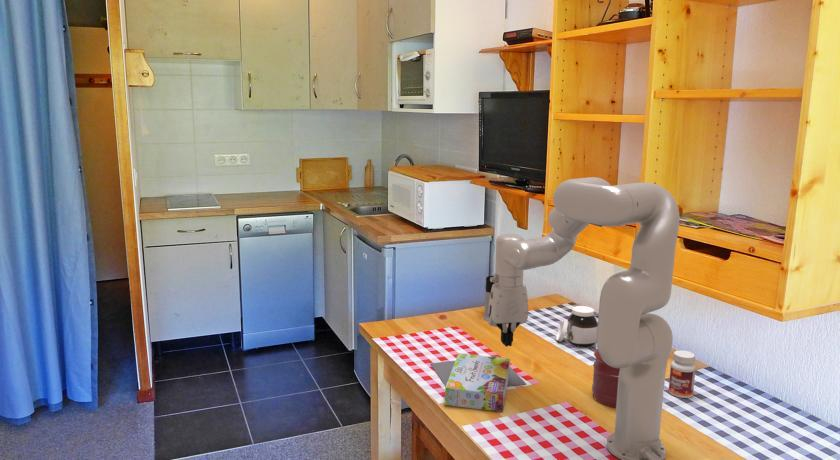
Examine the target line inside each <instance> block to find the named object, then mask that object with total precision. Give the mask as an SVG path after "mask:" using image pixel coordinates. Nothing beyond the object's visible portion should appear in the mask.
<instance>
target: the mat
mask: <svg viewBox="0 0 840 460" xmlns="http://www.w3.org/2000/svg"><path fill="white" fill-rule="evenodd" d="M495 357H498V358H502V357H501V356H500V355H499V356H498V355H497V356H495ZM455 361H456V360H450V361H438V362H437V361H436V362H431V363H429V364H430V366H431V368H432V369H433V371H435V373H436V374H437V376H438V378H439V379H440V380H441V382H442V384H443V386H445V387H446V385H447V382H448V379H449V377H450V374H451V371H452V369H453V366H454V363H455ZM519 386H527V382H526V381H524V379H523V378H522V377H521V376H520V375H519V374H518V373H516V371H515V370H514V369H513V368H512V367H511V366H510V373H509V380H508V385H507V388H511V387H519Z"/></svg>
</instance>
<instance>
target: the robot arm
mask: <svg viewBox="0 0 840 460" xmlns="http://www.w3.org/2000/svg"><path fill="white" fill-rule="evenodd" d="M552 204H553V209H551V210H550V212H549V213H548V217H547V218H548V219H547V220H548V225H549V226H550V228H551V231H550V232H549V233H547V234H546V235H545V236H541V237H535V238H528V239H524V237H523V236H522V235H519V234H515V233H503V234H499V235H498V236H497V237H496V238H495V239H496V240H495V261H494V262H495V265H494V267H495V268H494V274H493V276H494V277H490V282H494V283H495V284H493V285H492V289H491V294H490V300H489V322H488V321H487V322H488V325H489V326H490V327H495V328H498V329H499V330H500V342H501V343H502V344H503V346H505V347H512V346H513V342H514V332H515V331H516V329H517V328H518V327H519V326H521V325H523V324H525V323H527V320H528V318H529V299H528V290H527V285H526V284H525V283H524V271H527V270H533V269H536V268H540V267H544V266H545V267H546V266H547V267H548V266H551V265H554V264H555V263H557V262H558V261H560V260H561V259H562V258H564V257H565V256H566V255H567V254H568V253H570V252H571V251H572V249H574V247H575V246H576V242H577V240H578V235H580V234H581V232H583V231H584V230H585V229H586V228H587V227H589V225H590V224H591V225H597V226H602V227H608V228H609V227H611V228H612V227H614V228H615V227H622V226H626V225H627V226H628V225H632V224H633V225H634V224H640V227H639V230H638V231H637V233H636V235H635V237H634V239H633V243H632V248H631V259H630V264H629V268H628V269H627V270H624V271H620V272H617V273H614V274H613V275H611V276H610V277H608V278H607V279H606V280H605V282H604V284H603V286H602V289H601V290H600V296H599V305H598V306H599V307H598V314H597V315H598V317H597V324H598V327H597V341H596V346H597V347H596V348H597V349H598V351H599V354H600V356H601V358H602V359H603V360H604V362H605V363H606V364H608V365H609V366H611V367H614V368H620V370H619V378H618V390H617V404H616V407H615V418H614V419H615V420H614V421H615V422H614V432H613V433H612V434H610V435H609V436H608V437H607V438H606V449H607V450H608V451H609V452H610V454H612V455H613V456H614V457H616V458H617V459H619V460H665V459H666V458H667V450H666V447H665V445H664V444H663V443H662V440H661V439H660V438H661V437H660V435H661V426H662V425H661V424H662V413H663V412H662V411H663V401H664V391H665V390H664V389H665V380H666V372H667V371H666V370H667V367H668V366H667V365H668V363H669V358H670V355H671V351H672V348H673V342H674V341H673V331H672V329H671V326H670V324H669V323H668V322H667V320H666V319H664V317H662V316H660V315H658V314H654V313H652V312H655V311H657V310H661V309H662V308H664V307H665V306H666V305H668V303H669V301H670V299H671V294H672V288H673V287H672V286H673V277H674V266H675V256H676V254H675V253H676V246H677V240H678V235H679V229H680V217H681V216H680V210H679V206H678V204H677V201H676V200H675V198H674V197H673V194H671V193H670V192H669V190H667V189H666V188H665V187H663V186H661V185H659V184H655V183H652V182H632V183H626V184H625V183H623V184H615V185H611V183H609V182H608V181H607V180H606V179H603V178H601V177H596V176H589V177H580V178H570V179H566V180H565V181H562V182H560V183H559V185H558V186H557V187H556V188H555V190H554V192H553V196H552Z"/></svg>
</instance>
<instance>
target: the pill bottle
mask: <svg viewBox="0 0 840 460" xmlns="http://www.w3.org/2000/svg"><path fill="white" fill-rule="evenodd" d="M695 359H696V355H695V353H693V352H691V351H689V350H676V351H674V352H673V360H672V361H671V363H670V372H669V380H668V381H669V382H668V392H669V394H670V395H672V396H673V397H677V398H681V399H690V398H692V396H694V388H695V387H694V386H695V380H696V379H695V378H696V370H697V369H696V368H697V367H696V365H695Z"/></svg>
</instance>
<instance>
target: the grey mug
mask: <svg viewBox="0 0 840 460" xmlns="http://www.w3.org/2000/svg"><path fill="white" fill-rule="evenodd" d="M490 277H494V275H489V276H488V275H487V276H486V277H485V287H484V292H485V293H484V315H483V319H482V320H484V321H486V322H489V300H490V294H491V289H492V285H493V284H495V283H494V282H490Z"/></svg>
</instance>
